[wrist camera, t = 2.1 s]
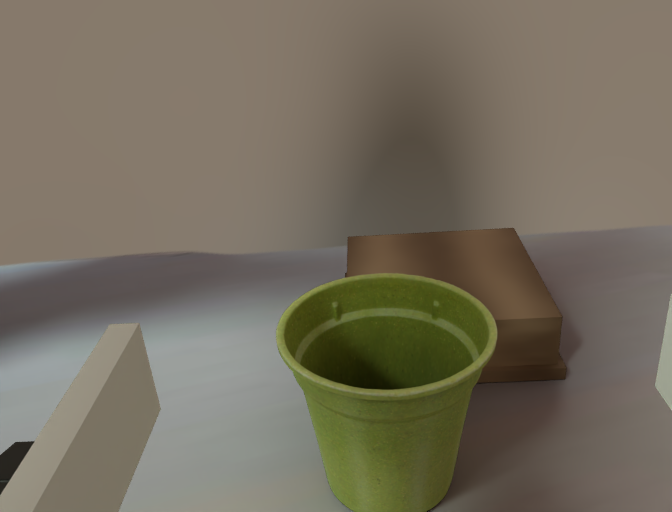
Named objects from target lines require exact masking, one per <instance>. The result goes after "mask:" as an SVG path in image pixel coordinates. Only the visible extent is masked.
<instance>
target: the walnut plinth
mask: <svg viewBox="0 0 672 512" xmlns="http://www.w3.org/2000/svg"><path fill="white" fill-rule="evenodd" d="M379 273H394V274H396V273H398V274H406V275H416V276H422V277H426V278H432V279H435V280H440V281H443V282H446V283H449V284H451V285H454V286H456V287H458V288H460V289H462V290H464V291H466V292H467V293H469V294H470V295H472V296H473V297H475V298H476V299H478V300H479V301H480V302H481V303H482V304H483V305H484V306H485V307H486V308H487V309H488V310H489V311H490V313H491V314H492V316H493V318H494V320H495V322H496V326H497V342H496V347H495V350H494V353H493V355H492V356H491V358H490V360H489V361H488V363H487V364H486V365H485V366H484V367H483V368H482V372H481V375H480V377H479V379H478V381H477V383H485V382H510V381H534V380H558V379H565V378H566V369H567V368H566V366H565V364H564V362H563V360H562V358H561V356H560V353H559V345H560V335H561V325H562V315H561V313H560V312H559V310H558V308H557V306H556V304H555V302H554V301H553V299H552V297H551V295H550V293H549V292H548V290H547V288H546V286H545V284H544V282H543V281H542V279H541V277H540V275H539V273H538V271H537V270H536V268H535V266H534V264H533V262H532V261H531V259H530V257H529V255H528V253H527V251H526V250H525V248H524V246H523V244H522V242H521V240H520V239H519V237H518V235H517V233H516V231H515V230H514V228H502V229H484V230H466V231H447V232H429V233H411V234H393V235H375V236H374V235H373V236H356V237H348V254H347V273H345V278H347V277H353V276H358V275H367V274H379Z"/></svg>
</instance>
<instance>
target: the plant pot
mask: <svg viewBox="0 0 672 512" xmlns="http://www.w3.org/2000/svg"><path fill="white" fill-rule="evenodd" d="M276 341H277V346H278V350H279V353H280V355H281V357H282V359H283V360H284V362H285V363H286V365H287V366H288V367H289V368H290V369H291V370H292V371H293V374H294V376H295V378H296V380H297V382H298V384H299V385H300V387H301V388H302V389H303V391H304V394H305V398H306V401H307V405H308V408H309V412H310V416H311V419H312V423H313V426H314V430H315V433H316V437H317V441H318V444H319V448H320V452H321V456H322V460H323V464H324V467H325V471H326V475H327V479H328V483H329V485H330V487H331V489H332V491H333V493H334V495H335V496H336V497H337V498H338V500H340V501H341V502H342V503H343V504H344V505H345V506H346V507H348V508H349V509H351V510H353V511H354V512H427V511H428V510H430V509H431V508H433V507H434V506H435V505H437V504H438V503H439V502H440V501H441V500H442V499H443V498H444V496H445V495H446V493H447V491H448V489H449V487H450V484H451V481H452V477H453V473H454V468H455V464H456V459H457V454H458V449H459V444H460V440H461V435H462V430H463V426H464V422H465V418H466V414H467V409H468V405H469V401H470V397H471V393H472V389H473V387H474V386H475V384H476V383H477V381H478V379H479V377H480V375H481V372H482V368H483V367H484V366H485V365H486V364H487V363H488V361H489V360H490V358H491V356H492V355H493V353H494V350H495V347H496V342H497V326H496V322H495V320H494V318H493V316H492V314H491V313H490V311H489V310H488V309H487V308H486V307H485V306H484V305H483V304H482V303H481V302H480V301H479V300H478V299H476V298H475V297H473V296H472V295H470V294H469V293H467V292H466V291H464V290H462V289H460V288H458V287H456V286H454V285H451V284H449V283H446V282H443V281H440V280H435V279H432V278H426V277H422V276H416V275H406V274H398V273H396V274H394V273H379V274H367V275H358V276H353V277H347V278H342V279H338V280H335V281H332V282H329V283H326V284H323V285H320V286H318V287H316V288H314V289H312V290H310V291H309V292H307V293H305V294H304V295H302V296H301V297H299V298H298V299H297V300H295V301H294V302H293V303H292V304H291V305H290V306H289V307H288V308H287V309H286V311H285V312H284V313H283V315H282V317H281V318H280V321H279V323H278V326H277V329H276Z"/></svg>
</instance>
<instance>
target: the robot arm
mask: <svg viewBox="0 0 672 512" xmlns="http://www.w3.org/2000/svg"><path fill="white" fill-rule="evenodd" d="M655 387H656V388H657V390H658V391H659V393H660V394H661V396H662V397H663V399H664V400H665V402H666V403H667V405H668V406H669V408H670V409H671V410H672V294H671V297H670V303H669V308H668V314H667V320H666V325H665V331H664V337H663V343H662V348H661V354H660V360H659V365H658V371H657V377H656V383H655ZM160 410H161V408H160V404H159V400H158V396H157V392H156V388H155V384H154V380H153V376H152V372H151V368H150V364H149V360H148V356H147V352H146V348H145V344H144V340H143V336H142V332H141V328H140V324H139V323H128V324H110V325H109V326H108V328H107V329H106V331H105V333H104V334H103V336H102V337H101V339H100V340H99V342H98V343H97V345H96V347H95V348H94V350H93V351H92V353H91V354H90V356H89V358H88V359H87V361H86V362H85V364H84V365H83V367H82V368H81V370H80V372H79V373H78V375H77V376H76V378H75V379H74V381H73V382H72V384H71V386H70V387H69V389H68V390H67V392H66V393H65V395H64V397H63V398H62V400H61V401H60V403H59V404H58V406H57V407H56V409H55V411H54V412H53V414H52V415H51V417H50V418H49V420H48V421H47V423H46V425H45V426H44V428H43V429H42V431H41V432H40V434H39V436H38V437H37V439H36V440H35V441H31V442H15V443H14V444H13V445H12V446H11V447H9V448H8V449H7V450H6V451H5V452H3V453H2V454H1V455H0V512H118V511H119V509H120V506H121V504H122V501H123V499H124V496H125V494H126V492H127V489H128V487H129V484H130V482H131V480H132V477H133V475H134V472H135V470H136V468H137V465H138V463H139V460H140V458H141V455H142V453H143V451H144V448H145V446H146V443H147V441H148V439H149V436H150V434H151V431H152V429H153V426H154V424H155V422H156V419H157V417H158V414H159V412H160Z"/></svg>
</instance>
